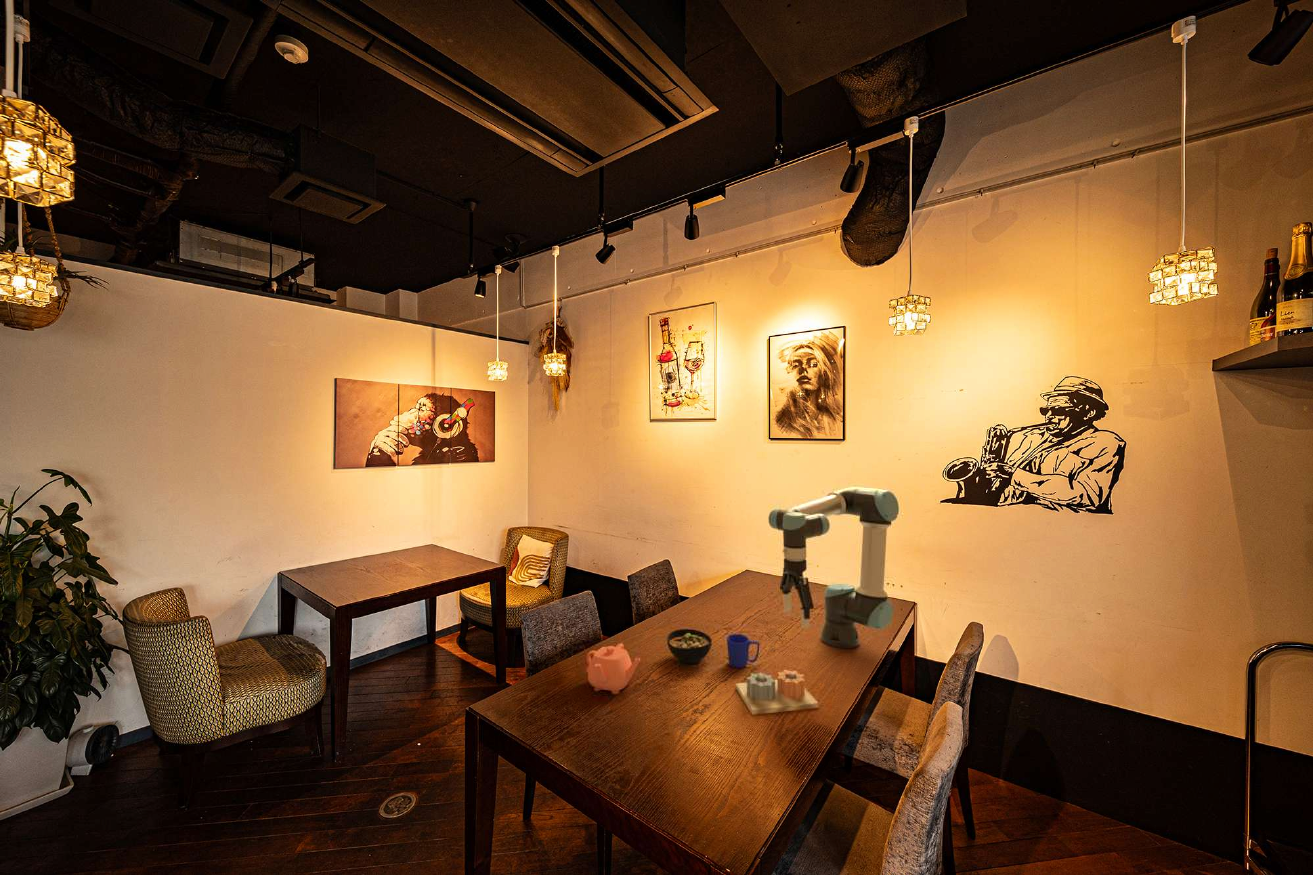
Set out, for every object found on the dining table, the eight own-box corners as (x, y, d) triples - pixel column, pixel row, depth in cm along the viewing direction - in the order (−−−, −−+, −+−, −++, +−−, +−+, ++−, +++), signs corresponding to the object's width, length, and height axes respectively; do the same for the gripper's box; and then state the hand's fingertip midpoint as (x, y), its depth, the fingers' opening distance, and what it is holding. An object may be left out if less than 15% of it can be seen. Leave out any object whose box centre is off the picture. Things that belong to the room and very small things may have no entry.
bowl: (681, 676, 175) (681, 648, 175) (659, 656, 190) (659, 631, 190) (720, 665, 183) (720, 638, 183) (696, 647, 198) (696, 623, 198)
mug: (759, 672, 178) (759, 644, 178) (726, 669, 180) (726, 642, 180) (759, 661, 186) (759, 635, 186) (727, 658, 188) (727, 633, 188)
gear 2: (797, 683, 167) (797, 668, 167) (810, 697, 158) (810, 681, 158) (772, 685, 165) (772, 670, 165) (783, 699, 157) (783, 684, 157)
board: (795, 681, 171) (795, 662, 170) (818, 707, 155) (818, 685, 155) (735, 687, 167) (735, 667, 167) (752, 714, 151) (752, 692, 151)
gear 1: (761, 684, 166) (761, 669, 166) (781, 696, 159) (781, 681, 159) (741, 692, 161) (741, 677, 161) (760, 705, 154) (760, 689, 154)
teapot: (642, 690, 166) (641, 651, 166) (596, 704, 157) (595, 663, 157) (621, 670, 180) (621, 634, 180) (578, 682, 171) (578, 644, 171)
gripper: (769, 549, 178) (771, 607, 179) (802, 569, 154) (803, 636, 154) (788, 548, 180) (790, 605, 180) (823, 567, 155) (825, 633, 156)
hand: (796, 619), depth 167 cm, fingers open, 13 cm apart
